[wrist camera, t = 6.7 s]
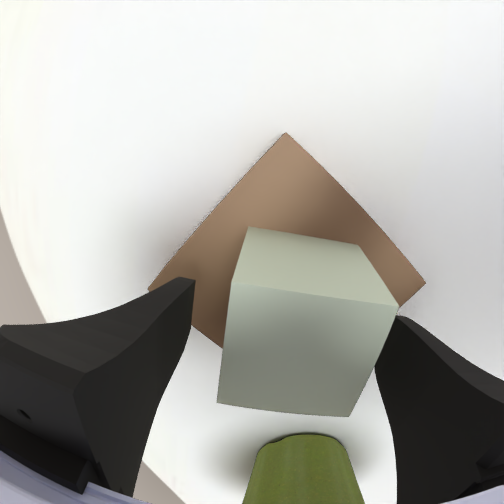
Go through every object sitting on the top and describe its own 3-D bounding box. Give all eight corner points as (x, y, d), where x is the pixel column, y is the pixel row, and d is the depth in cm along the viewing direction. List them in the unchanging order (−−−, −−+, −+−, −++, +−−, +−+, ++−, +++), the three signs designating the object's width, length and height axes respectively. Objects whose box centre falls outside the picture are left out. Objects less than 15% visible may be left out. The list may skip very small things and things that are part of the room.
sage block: (357, 244, 12) (399, 306, 8) (331, 335, 14) (348, 417, 9) (248, 226, 13) (231, 281, 8) (234, 322, 14) (216, 402, 9)
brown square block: (404, 258, 16) (426, 282, 13) (286, 359, 18) (287, 393, 16) (283, 133, 14) (286, 132, 11) (166, 263, 17) (147, 289, 14)
